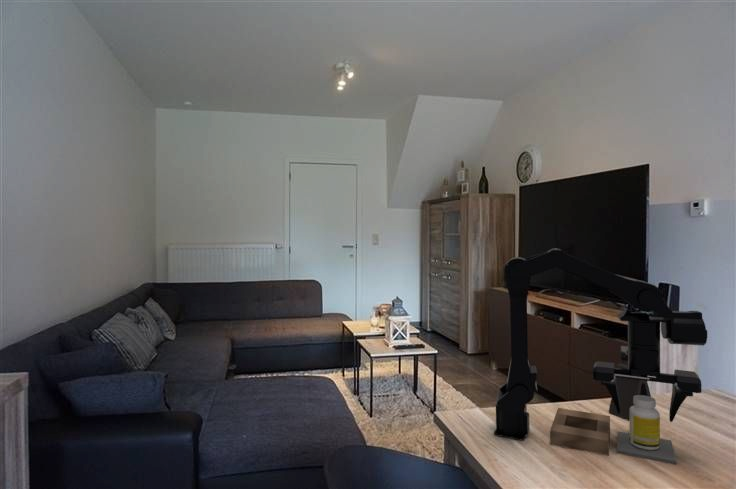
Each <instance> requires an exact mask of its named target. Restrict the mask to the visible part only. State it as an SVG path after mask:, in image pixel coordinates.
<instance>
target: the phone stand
mask: <svg viewBox="0 0 736 489" xmlns="http://www.w3.org/2000/svg"><path fill="white" fill-rule="evenodd" d="M615 368H621V369H628V363H624V362H618V363H617V364H616V366H615ZM632 375H636V374H632ZM639 376H641V375H639ZM616 380H617V388H618V395H619V401H620V414H618V412H617V410H616V407H615V404H614V402H613V399H612V397H611V398H610V403H609V407H608V413H609V414H610V415H614V416H615V417H619V418H622V419H623V420H624V419H625V420H627V421H629V410H630V407H631V406H634V404H633V397H634V396H635V395H644V396H649V397H652V394H651V392H650V387H649V384H648V381H645V380H636V379H628V378H620V377H616Z"/></svg>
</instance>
